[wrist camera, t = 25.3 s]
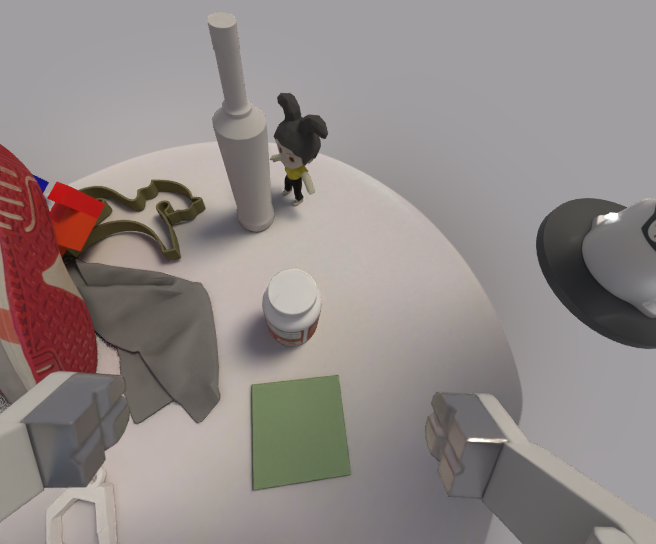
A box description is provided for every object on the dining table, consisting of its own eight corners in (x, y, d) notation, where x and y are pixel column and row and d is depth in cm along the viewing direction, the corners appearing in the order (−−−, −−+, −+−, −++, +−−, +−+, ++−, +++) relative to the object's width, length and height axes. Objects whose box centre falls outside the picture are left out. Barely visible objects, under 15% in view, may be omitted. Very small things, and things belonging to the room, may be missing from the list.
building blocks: (-22, 262, 40) (-71, 252, 36) (28, 174, 41) (-12, 155, 37) (53, 303, 35) (7, 297, 31) (106, 203, 37) (69, 185, 33)
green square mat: (337, 375, 37) (338, 375, 36) (350, 473, 33) (351, 474, 32) (252, 385, 35) (251, 384, 35) (254, 488, 31) (253, 490, 31)
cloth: (264, 372, 36) (262, 370, 34) (150, 461, 31) (140, 464, 29) (156, 220, 43) (149, 210, 41) (50, 273, 38) (36, 265, 36)
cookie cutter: (190, 253, 39) (195, 261, 40) (205, 181, 44) (208, 191, 46) (34, 250, 37) (46, 258, 39) (70, 176, 43) (79, 186, 44)
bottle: (245, 237, 43) (194, 45, 21) (234, 209, 45) (176, 4, 23) (280, 226, 45) (267, 35, 22) (267, 199, 47) (245, -3, 24)
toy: (264, 187, 48) (253, 96, 34) (290, 170, 50) (289, 77, 36) (302, 222, 46) (307, 140, 32) (327, 202, 48) (342, 118, 34)
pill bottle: (301, 291, 41) (304, 250, 31) (326, 330, 39) (337, 301, 29) (259, 313, 39) (247, 278, 29) (282, 356, 37) (279, 334, 27)
